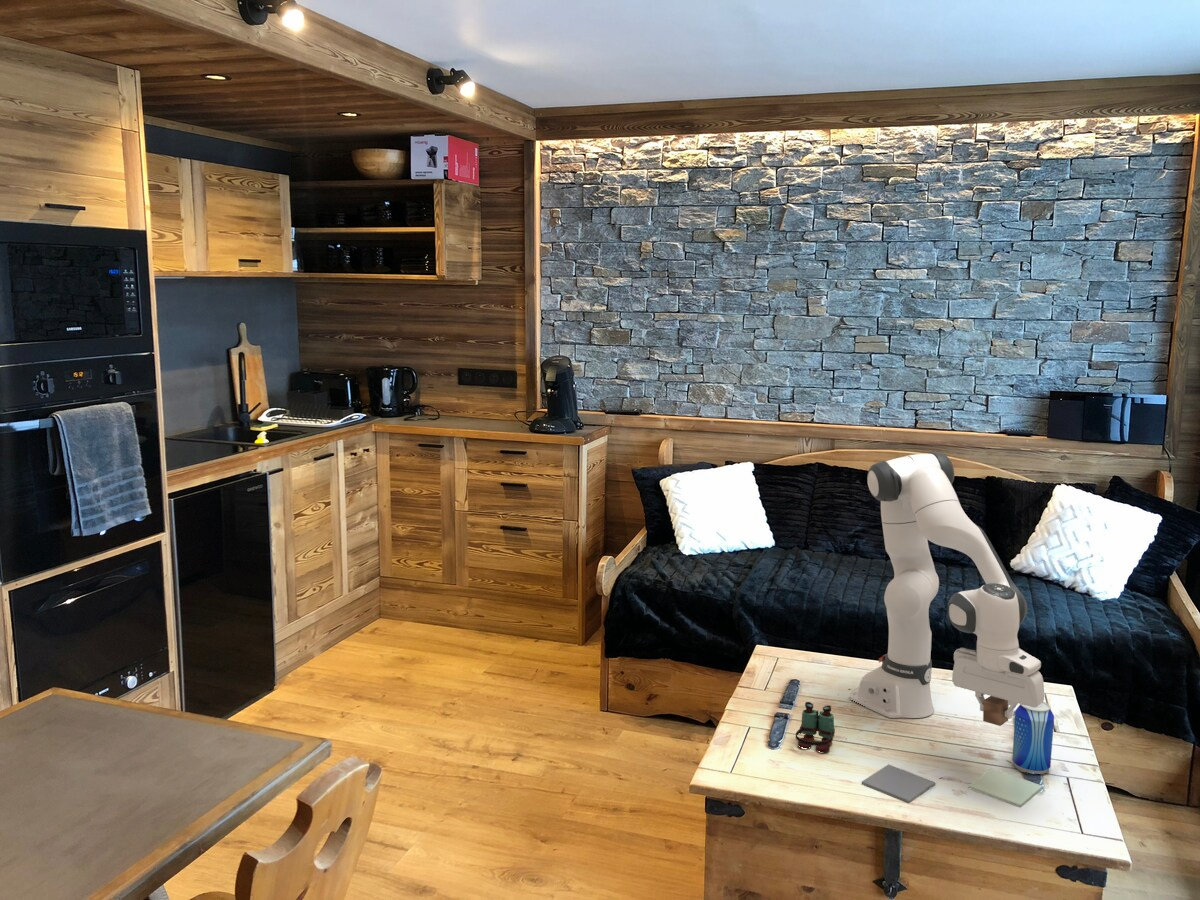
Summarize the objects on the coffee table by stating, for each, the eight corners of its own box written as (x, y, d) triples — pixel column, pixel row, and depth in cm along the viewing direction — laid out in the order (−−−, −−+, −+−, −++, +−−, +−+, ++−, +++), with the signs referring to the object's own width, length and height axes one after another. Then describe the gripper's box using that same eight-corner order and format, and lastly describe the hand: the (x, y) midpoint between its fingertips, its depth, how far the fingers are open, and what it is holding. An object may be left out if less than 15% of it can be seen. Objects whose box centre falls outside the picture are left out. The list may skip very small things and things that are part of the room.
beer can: (1054, 778, 227) (1059, 713, 225) (1015, 774, 229) (1020, 710, 226) (1045, 761, 235) (1049, 699, 233) (1008, 758, 237) (1012, 696, 234)
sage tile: (968, 787, 223) (968, 785, 223) (991, 770, 231) (991, 767, 231) (1020, 807, 214) (1020, 804, 214) (1042, 788, 222) (1042, 786, 222)
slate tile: (861, 783, 225) (861, 781, 225) (888, 766, 233) (888, 764, 233) (909, 803, 216) (909, 800, 216) (935, 784, 224) (935, 782, 224)
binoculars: (793, 716, 238) (802, 697, 247) (793, 754, 241) (802, 734, 250) (829, 722, 235) (838, 703, 243) (829, 761, 237) (837, 740, 246)
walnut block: (983, 721, 222) (983, 700, 221) (991, 715, 225) (991, 695, 224) (1000, 726, 219) (1000, 705, 218) (1008, 720, 222) (1008, 699, 221)
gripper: (947, 649, 225) (946, 705, 227) (1035, 670, 210) (1034, 731, 212) (960, 642, 230) (959, 698, 231) (1048, 663, 214) (1046, 722, 216)
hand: (996, 714), depth 222 cm, fingers closed on walnut block, 4 cm apart
